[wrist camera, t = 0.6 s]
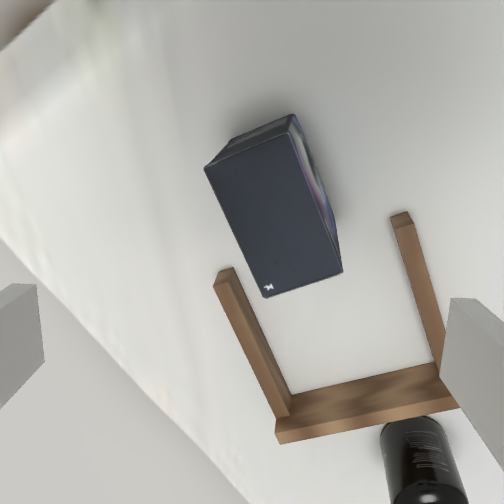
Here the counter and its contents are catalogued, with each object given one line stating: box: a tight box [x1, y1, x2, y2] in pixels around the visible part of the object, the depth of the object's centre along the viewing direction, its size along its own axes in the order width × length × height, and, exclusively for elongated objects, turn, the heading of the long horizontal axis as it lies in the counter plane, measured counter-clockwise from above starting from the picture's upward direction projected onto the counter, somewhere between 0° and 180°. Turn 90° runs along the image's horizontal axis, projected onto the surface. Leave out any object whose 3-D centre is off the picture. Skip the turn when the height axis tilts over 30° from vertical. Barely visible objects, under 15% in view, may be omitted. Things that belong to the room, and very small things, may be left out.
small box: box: [204, 114, 343, 299], centre depth 35 cm, size 11×6×10 cm, turn 24°
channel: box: [213, 212, 460, 445], centre depth 42 cm, size 18×18×5 cm
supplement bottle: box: [381, 416, 469, 504], centre depth 44 cm, size 7×7×12 cm
